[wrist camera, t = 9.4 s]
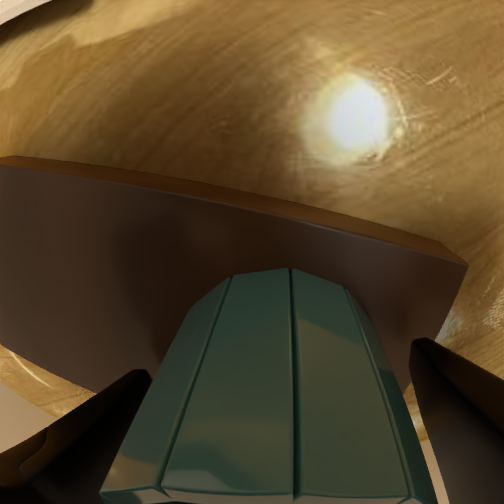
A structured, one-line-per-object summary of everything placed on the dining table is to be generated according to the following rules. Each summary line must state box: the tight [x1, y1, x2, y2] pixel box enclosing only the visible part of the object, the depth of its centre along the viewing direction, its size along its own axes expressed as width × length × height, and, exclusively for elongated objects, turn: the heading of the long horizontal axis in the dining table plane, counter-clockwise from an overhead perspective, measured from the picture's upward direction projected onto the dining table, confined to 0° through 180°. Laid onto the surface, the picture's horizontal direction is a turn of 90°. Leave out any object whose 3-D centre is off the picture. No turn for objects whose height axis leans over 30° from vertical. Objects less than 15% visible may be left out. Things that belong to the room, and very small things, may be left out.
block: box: [0, 156, 469, 395], centre depth 9 cm, size 16×8×2 cm, turn 79°
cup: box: [99, 268, 438, 504], centre depth 6 cm, size 5×5×6 cm
